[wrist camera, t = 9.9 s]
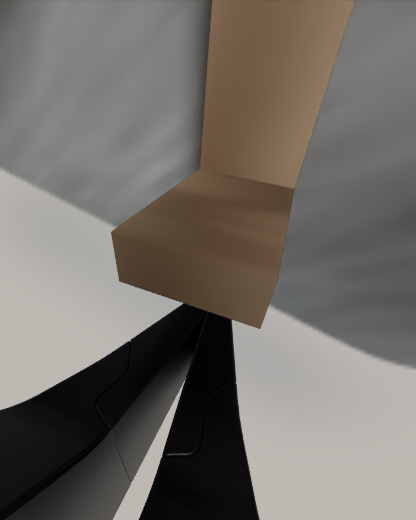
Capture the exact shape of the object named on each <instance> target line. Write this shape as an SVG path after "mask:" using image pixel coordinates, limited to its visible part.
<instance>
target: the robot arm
mask: <svg viewBox="0 0 416 520" xmlns="http://www.w3.org/2000/svg"><path fill="white" fill-rule="evenodd" d="M185 378H186V379H185ZM184 380H185V383H184V386H183V389H182V392H181V396H180V399H179V402H178V406H177V409H176V412H175V415H174V419H173V422H172V425H171V428H170V431H169V435H168V438H167V441H166V444H165V447H164V451H163V455H162V458H161V460H160V464H159V467H158V470H157V473H156V476H155V479H154V482H153V485H152V487H151V490H150V493H149V495H148V498H147V501H146V503H145V506H144V508H143V511H142V513H141V516H140V518H139V520H260V519H259V515H258V511H257V506H256V502H255V496H254V491H253V486H252V481H251V476H250V471H249V466H248V461H247V456H246V451H245V445H244V440H243V434H242V428H241V422H240V416H239V406H238V397H237V385H236V373H235V359H234V346H233V332H232V319H229V318H226V317H223V316H220V315H217V314H214V313H211V312H209V311H206V310H203V309H200V308H197V307H194V306H191V305H188V304H185V303H184V304H182V305H181V306H179V307H178V308H176V309H175V310H173V311H172V312H171V313H169V314H168V315H166V316H165V317H163V318H162V319H160V320H159V321H157V322H156V323H155V324H153V325H152V326H150V327H149V328H147V329H146V330H145V331H143V332H141V333H140V334H139V335H137V336H136V337H134V338H133V339H131V341H130V342H129V341H128V342H127V343H125V344H124V345H122V346H121V347H119V348H118V349H116V350H115V351H113V352H112V353H110V354H109V355H107V356H106V357H104V358H102V359H101V360H99V361H97V362H96V363H94V364H92V365H90V366H89V367H87V368H85V369H84V370H82V371H80V372H79V373H76V374H75V375H73V376H71V377H69V378H67V379H66V380H64V381H62V382H60V383H58V384H56V385H55V386H53V387H51V388H49V389H48V390H46V391H44V392H42V393H40V394H38V395H37V396H35V397H33V398H31V399H29V400H26V401H24V402H22V403H19V404H17V405H14V406H12V407H9V408H6V409H2V410H0V520H113V518H114V516H115V514H116V512H117V510H118V508H119V506H120V504H121V502H122V500H123V498H124V496H125V494H126V492H127V491H128V489H129V487H130V485H131V482H132V481H133V479H134V477H135V475H136V473H137V471H138V469H139V467H140V465H141V463H142V461H143V460H144V458H145V456H146V454H147V452H148V450H149V448H150V446H151V444H152V442H153V440H154V438H155V436H156V434H157V432H158V430H159V428H160V427H161V425H162V423H163V421H164V419H165V417H166V415H167V413H168V411H169V409H170V407H171V405H172V403H173V401H174V400H175V398H176V396H177V394H178V392H179V390H180V388H181V386H182V384H183V382H184Z"/></svg>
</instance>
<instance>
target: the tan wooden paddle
mask: <svg viewBox="0 0 416 520" xmlns="http://www.w3.org/2000/svg"><path fill="white" fill-rule="evenodd" d="M353 3H354V0H212V10H211V23H210V37H209V50H208V63H207V77H206V90H205V104H204V117H203V131H202V144H201V158H200V169H199V170H197V171H196V172H195V173H193V174H192V175H190V176H189V177H188V178H186V179H185V180H183V181H182V182H181V183H179V184H178V185H176V186H175V187H174V188H172V189H171V190H169V191H168V192H166V193H165V194H164V195H162V196H161V197H159V198H158V199H157V200H155V201H154V202H152V203H151V204H150V205H148V206H147V207H145V208H144V209H143V210H141V211H140V212H138V213H137V214H136V215H134V216H133V217H131V218H130V219H129V220H127V221H126V222H124V223H123V224H121V225H120V226H119V227H117V228H116V229H114V230H113V231H112V232H111V234H112V240H113V246H114V252H115V258H116V264H117V270H118V276H119V281H120V282H123V283H126V284H129V285H132V286H135V287H138V288H141V289H144V290H147V291H150V292H152V293H156V294H158V295H161V296H164V297H167V298H170V299H173V300H176V301H179V302H182V303H185V304H188V305H191V306H194V307H197V308H200V309H203V310H206V311H209V312H211V313H214V314H217V315H220V316H223V317H226V318H229V319H232V320H235V321H238V322H241V323H244V324H247V325H250V326H253V327H256V328H259V329H260V328H261V325H262V322H263V320H264V317H265V314H266V311H267V309H268V306H269V303H270V300H271V298H272V295H273V292H274V289H275V286H276V284H277V281H278V276H279V270H280V265H281V259H282V254H283V248H284V243H285V237H286V232H287V226H288V221H289V215H290V210H291V204H292V199H293V193H294V188H295V185H296V182H297V179H298V176H299V172H300V169H301V166H302V163H303V160H304V157H305V154H306V151H307V147H308V144H309V141H310V138H311V135H312V132H313V129H314V125H315V122H316V119H317V116H318V113H319V110H320V107H321V104H322V100H323V97H324V94H325V91H326V88H327V85H328V82H329V79H330V75H331V72H332V69H333V66H334V63H335V60H336V57H337V54H338V50H339V47H340V44H341V41H342V38H343V35H344V32H345V29H346V25H347V22H348V19H349V16H350V13H351V10H352V7H353Z"/></svg>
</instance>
